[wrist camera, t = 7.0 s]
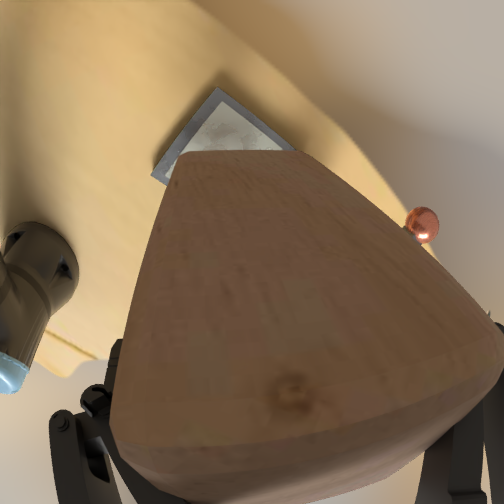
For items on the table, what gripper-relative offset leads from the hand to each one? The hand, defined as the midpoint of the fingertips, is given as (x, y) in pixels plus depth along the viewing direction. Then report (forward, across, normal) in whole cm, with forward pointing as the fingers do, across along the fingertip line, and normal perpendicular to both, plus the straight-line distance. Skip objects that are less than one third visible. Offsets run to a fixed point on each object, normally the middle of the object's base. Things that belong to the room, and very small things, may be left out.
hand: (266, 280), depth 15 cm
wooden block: (+10, 0, 0) cm, 10 cm away
